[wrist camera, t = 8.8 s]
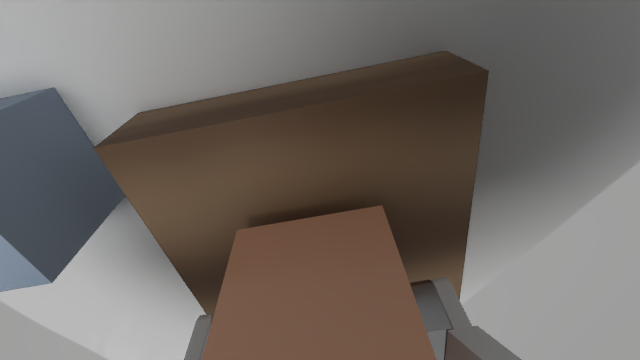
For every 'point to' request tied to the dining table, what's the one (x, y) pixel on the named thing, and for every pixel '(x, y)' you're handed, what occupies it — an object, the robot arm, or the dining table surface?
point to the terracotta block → (318, 294)
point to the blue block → (47, 189)
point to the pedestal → (310, 163)
